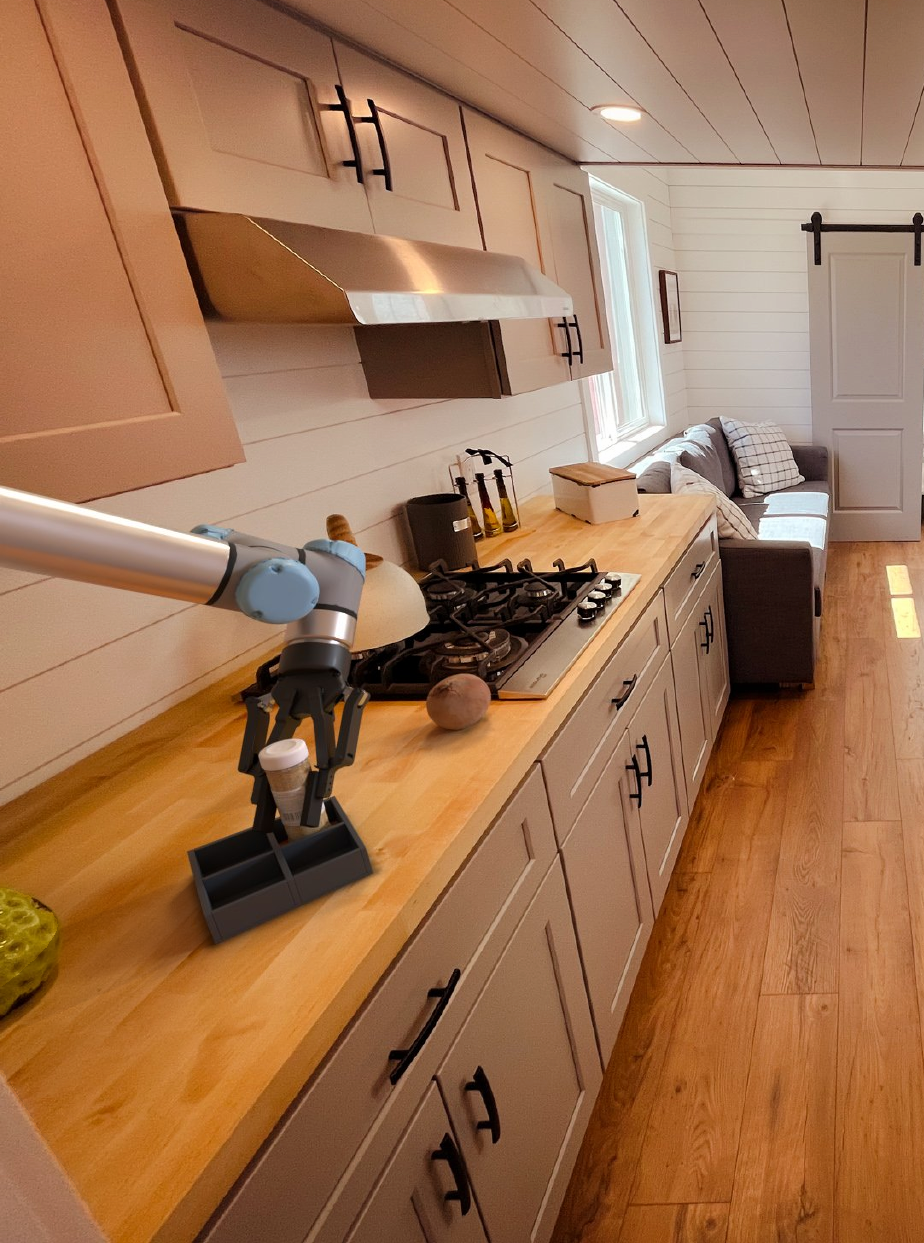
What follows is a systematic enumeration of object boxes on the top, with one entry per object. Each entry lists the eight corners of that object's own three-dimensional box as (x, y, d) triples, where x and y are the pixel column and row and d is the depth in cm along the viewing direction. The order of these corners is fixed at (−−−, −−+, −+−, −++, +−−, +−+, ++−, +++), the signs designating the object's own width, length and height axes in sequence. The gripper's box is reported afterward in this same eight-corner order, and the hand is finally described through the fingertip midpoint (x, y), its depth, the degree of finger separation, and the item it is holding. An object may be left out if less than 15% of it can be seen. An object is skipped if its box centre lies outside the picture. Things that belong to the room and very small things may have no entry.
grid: (215, 945, 77) (204, 917, 76) (197, 877, 86) (186, 851, 85) (373, 873, 87) (366, 847, 86) (342, 819, 97) (334, 795, 95)
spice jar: (340, 825, 93) (314, 737, 88) (314, 849, 89) (285, 758, 84) (306, 824, 93) (277, 736, 88) (278, 848, 89) (247, 757, 84)
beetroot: (455, 751, 118) (421, 718, 110) (438, 716, 123) (405, 682, 116) (509, 717, 121) (480, 683, 114) (491, 685, 127) (462, 650, 119)
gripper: (401, 653, 101) (379, 823, 91) (261, 663, 97) (223, 842, 88) (377, 634, 94) (350, 815, 84) (225, 644, 90) (179, 835, 81)
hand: (286, 828), depth 86 cm, fingers closed on spice jar, 4 cm apart
